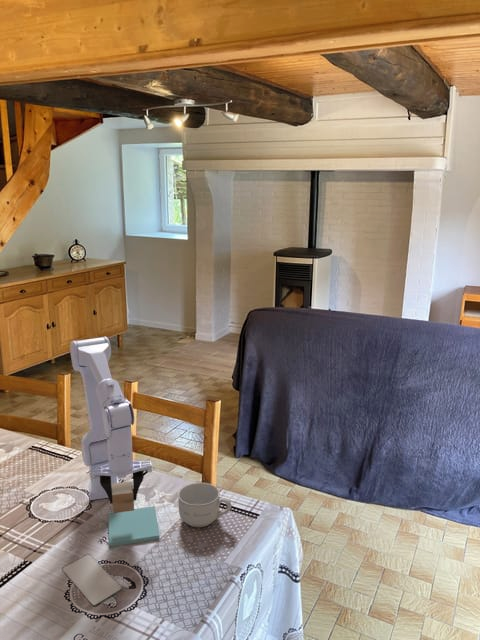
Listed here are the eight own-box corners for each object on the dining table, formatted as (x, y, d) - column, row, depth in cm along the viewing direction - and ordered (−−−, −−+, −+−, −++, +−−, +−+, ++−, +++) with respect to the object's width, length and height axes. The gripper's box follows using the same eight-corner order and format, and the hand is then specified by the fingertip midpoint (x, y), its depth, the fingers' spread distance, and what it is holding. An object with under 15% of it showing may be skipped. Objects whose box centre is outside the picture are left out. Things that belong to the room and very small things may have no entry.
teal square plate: (108, 516, 134) (108, 512, 134) (154, 509, 137) (154, 506, 137) (109, 546, 123) (109, 543, 122) (159, 538, 126) (159, 535, 125)
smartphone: (94, 607, 105) (60, 568, 116) (94, 609, 105) (61, 570, 116) (123, 588, 110) (89, 553, 120) (123, 590, 110) (89, 555, 120)
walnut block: (113, 501, 129) (111, 483, 128) (133, 498, 130) (132, 481, 129) (113, 513, 124) (112, 495, 123) (134, 510, 125) (133, 492, 124)
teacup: (170, 524, 131) (169, 497, 129) (193, 502, 140) (192, 476, 138) (217, 542, 125) (217, 514, 122) (238, 517, 134) (238, 490, 132)
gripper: (88, 462, 118) (92, 513, 121) (152, 455, 121) (154, 505, 125) (89, 447, 124) (93, 496, 128) (149, 441, 128) (151, 488, 131)
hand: (123, 499), depth 127 cm, fingers closed on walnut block, 5 cm apart
